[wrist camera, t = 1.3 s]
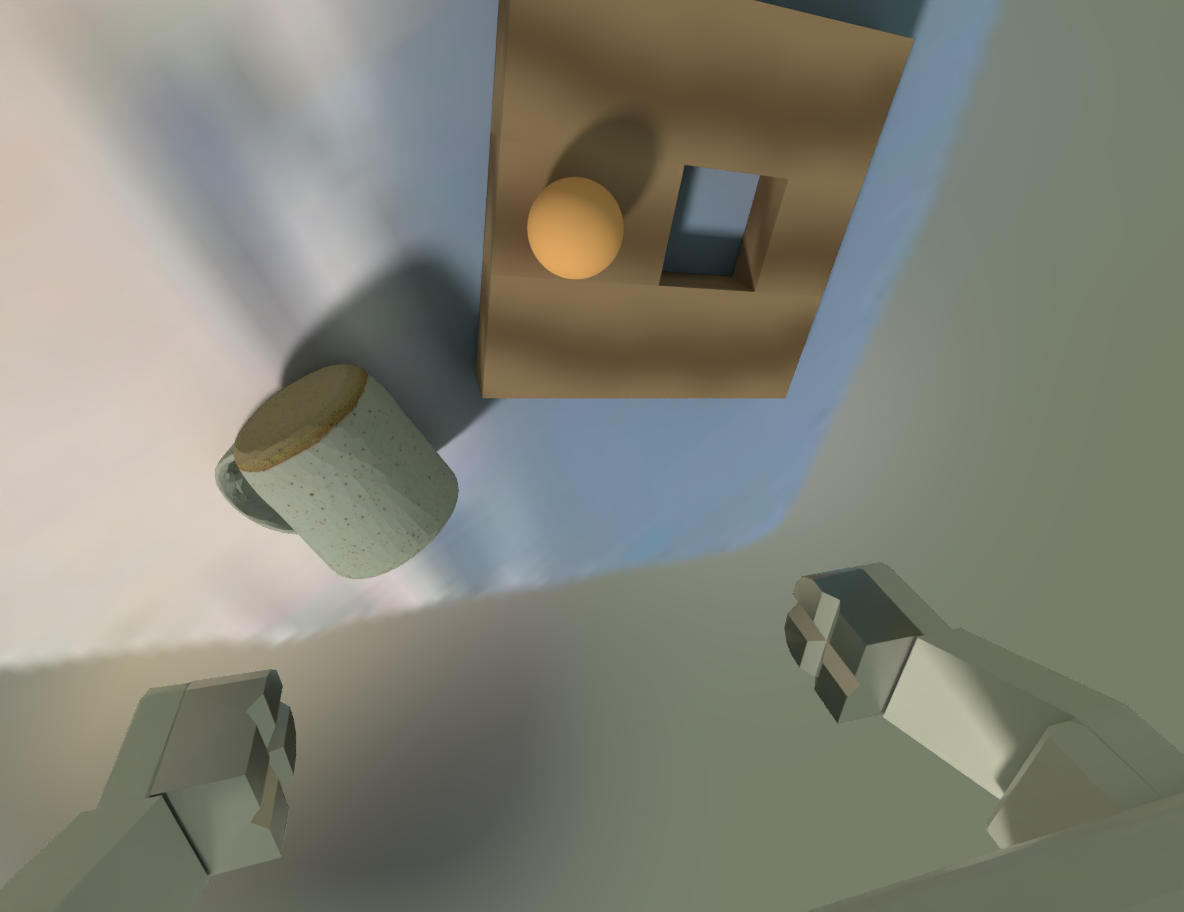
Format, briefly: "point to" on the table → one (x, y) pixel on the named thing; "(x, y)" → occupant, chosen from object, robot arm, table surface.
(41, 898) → the robot arm
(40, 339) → the table surface
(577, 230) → the rubber ball
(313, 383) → the ceramic mug
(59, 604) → the table surface
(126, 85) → the table surface
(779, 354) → the board
